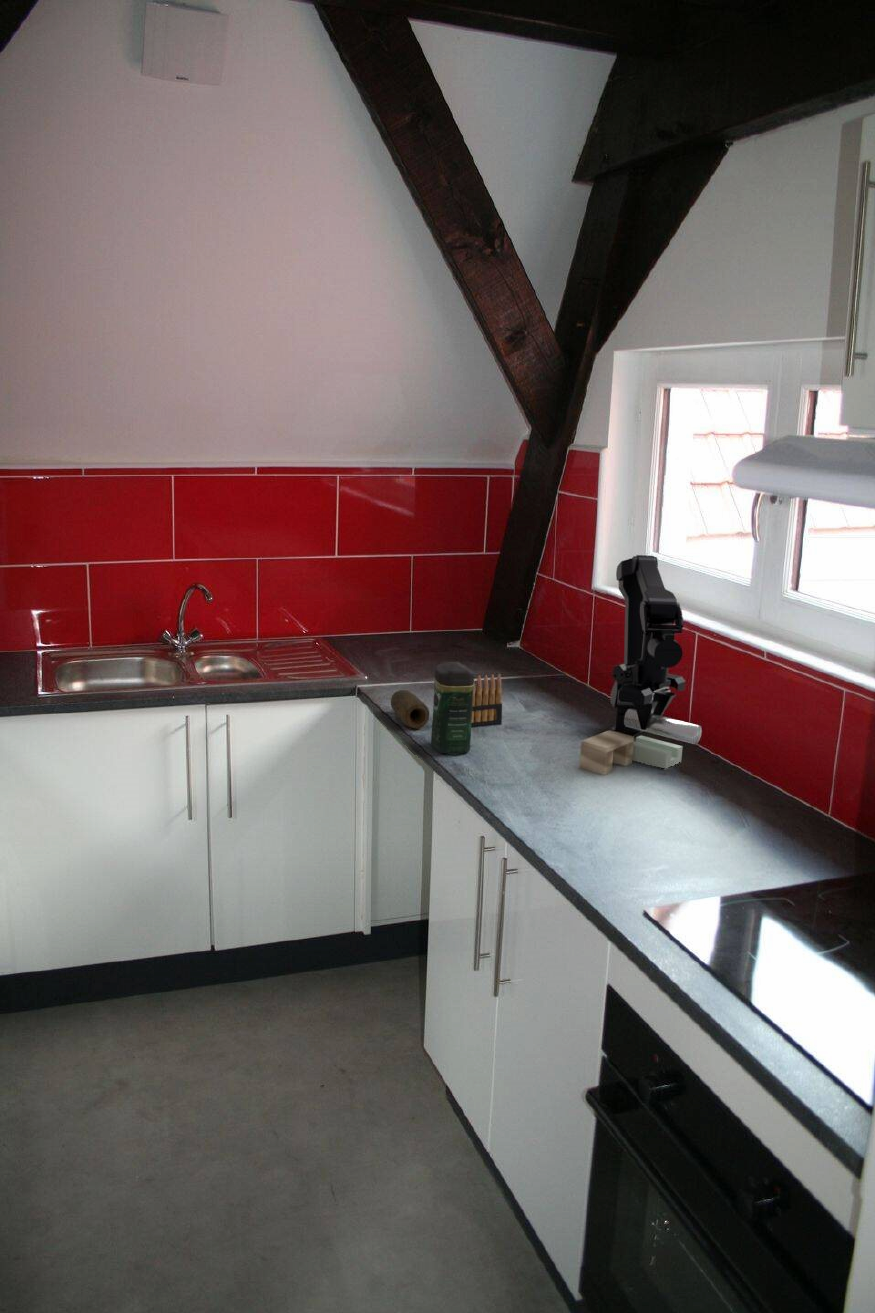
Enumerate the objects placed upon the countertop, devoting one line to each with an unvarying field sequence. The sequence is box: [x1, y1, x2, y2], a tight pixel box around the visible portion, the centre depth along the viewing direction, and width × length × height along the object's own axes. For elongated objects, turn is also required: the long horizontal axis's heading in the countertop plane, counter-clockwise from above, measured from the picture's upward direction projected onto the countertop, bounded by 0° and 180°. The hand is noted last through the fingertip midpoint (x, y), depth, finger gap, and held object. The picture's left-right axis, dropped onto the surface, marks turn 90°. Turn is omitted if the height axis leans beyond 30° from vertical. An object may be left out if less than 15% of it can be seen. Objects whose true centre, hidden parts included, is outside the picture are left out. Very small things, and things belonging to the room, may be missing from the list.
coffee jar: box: [430, 661, 475, 755], centre depth 233 cm, size 10×8×19 cm
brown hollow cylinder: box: [390, 689, 430, 730], centre depth 252 cm, size 15×7×7 cm, turn 20°
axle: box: [624, 708, 703, 745], centre depth 231 cm, size 16×4×4 cm, turn 50°
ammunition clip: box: [471, 673, 503, 729], centre depth 251 cm, size 11×2×12 cm, turn 117°
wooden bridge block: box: [578, 729, 635, 776], centre depth 228 cm, size 11×6×6 cm, turn 140°
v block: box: [632, 735, 684, 769], centre depth 233 cm, size 7×10×4 cm
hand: (648, 727), depth 233 cm, fingers closed on axle, 4 cm apart
